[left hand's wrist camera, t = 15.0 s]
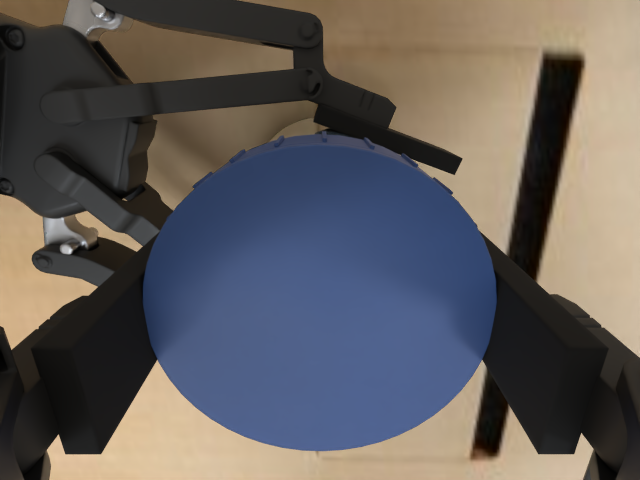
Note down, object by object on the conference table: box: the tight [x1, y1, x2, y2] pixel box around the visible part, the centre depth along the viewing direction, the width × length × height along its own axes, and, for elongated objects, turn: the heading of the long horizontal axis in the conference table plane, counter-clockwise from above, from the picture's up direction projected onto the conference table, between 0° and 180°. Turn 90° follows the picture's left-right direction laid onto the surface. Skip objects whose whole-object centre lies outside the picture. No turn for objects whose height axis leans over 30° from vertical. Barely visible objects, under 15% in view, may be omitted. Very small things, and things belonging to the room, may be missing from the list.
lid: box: [143, 131, 497, 451], centre depth 11 cm, size 10×10×2 cm
